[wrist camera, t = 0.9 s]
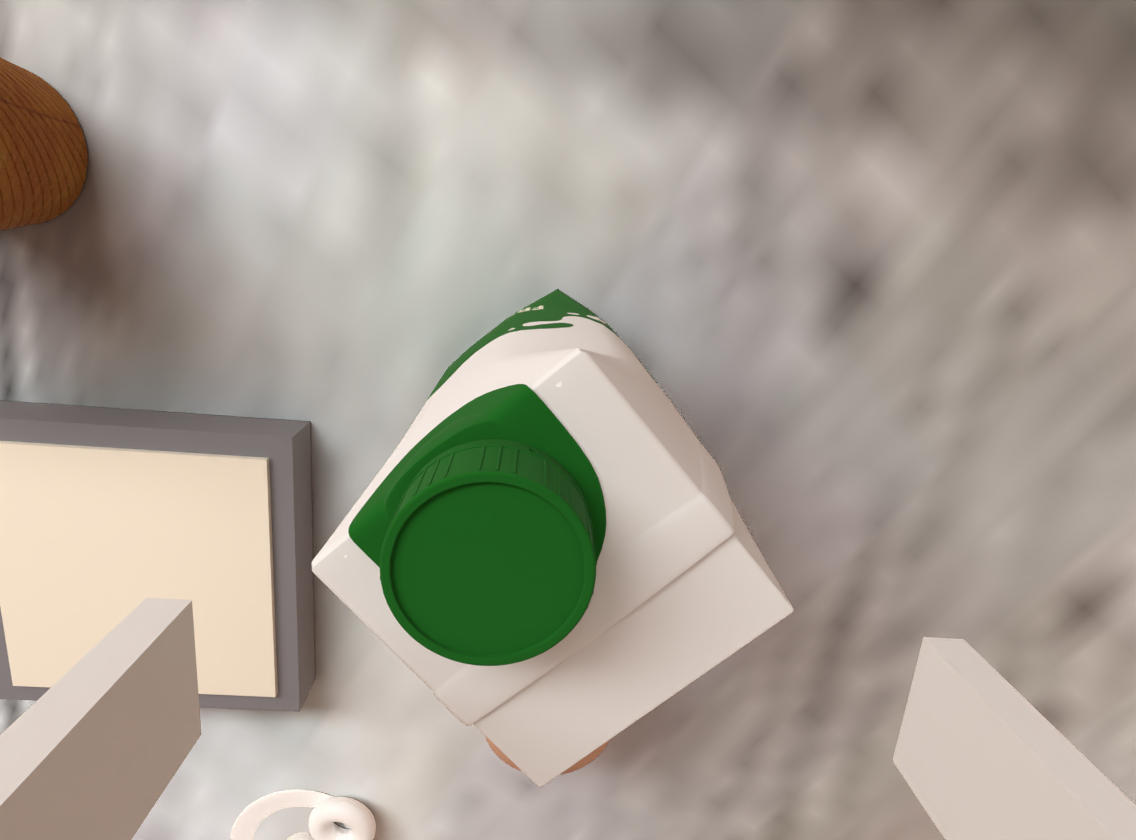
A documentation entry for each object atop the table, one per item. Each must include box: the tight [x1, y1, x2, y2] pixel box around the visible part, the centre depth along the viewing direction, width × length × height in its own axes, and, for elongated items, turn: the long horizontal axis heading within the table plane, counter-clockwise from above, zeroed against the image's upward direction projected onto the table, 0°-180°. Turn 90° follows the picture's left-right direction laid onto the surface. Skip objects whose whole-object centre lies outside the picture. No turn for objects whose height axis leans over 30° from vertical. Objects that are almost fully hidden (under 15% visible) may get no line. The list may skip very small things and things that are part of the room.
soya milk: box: [312, 289, 794, 787], centre depth 23 cm, size 9×9×20 cm
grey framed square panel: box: [0, 401, 315, 711], centre depth 32 cm, size 14×14×3 cm
